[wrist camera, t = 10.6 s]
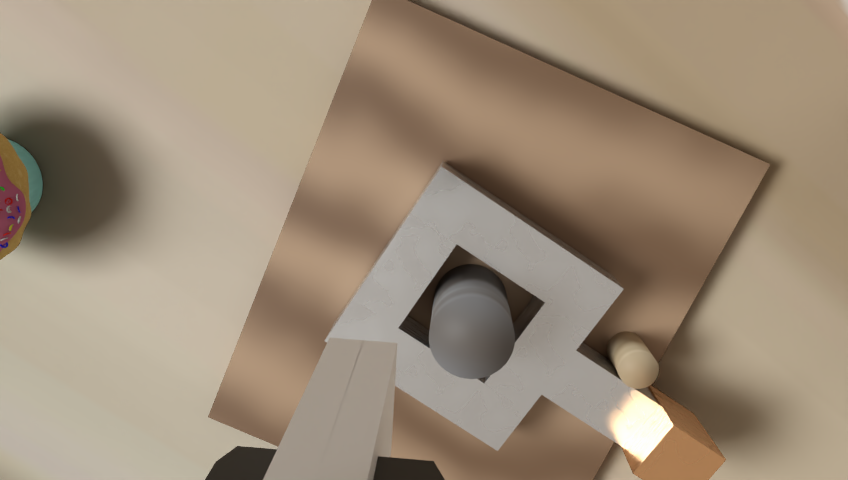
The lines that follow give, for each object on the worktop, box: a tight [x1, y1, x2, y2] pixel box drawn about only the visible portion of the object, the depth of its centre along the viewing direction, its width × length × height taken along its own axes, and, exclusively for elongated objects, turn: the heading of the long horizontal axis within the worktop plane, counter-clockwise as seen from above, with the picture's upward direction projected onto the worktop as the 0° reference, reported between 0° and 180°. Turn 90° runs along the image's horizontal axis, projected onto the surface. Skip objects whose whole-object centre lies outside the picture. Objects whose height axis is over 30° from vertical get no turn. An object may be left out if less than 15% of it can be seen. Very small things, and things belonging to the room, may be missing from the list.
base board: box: [208, 0, 770, 480], centre depth 35 cm, size 26×22×7 cm
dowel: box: [607, 331, 659, 389], centre depth 36 cm, size 2×2×3 cm
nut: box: [325, 161, 726, 480], centre depth 35 cm, size 20×11×5 cm, turn 57°
